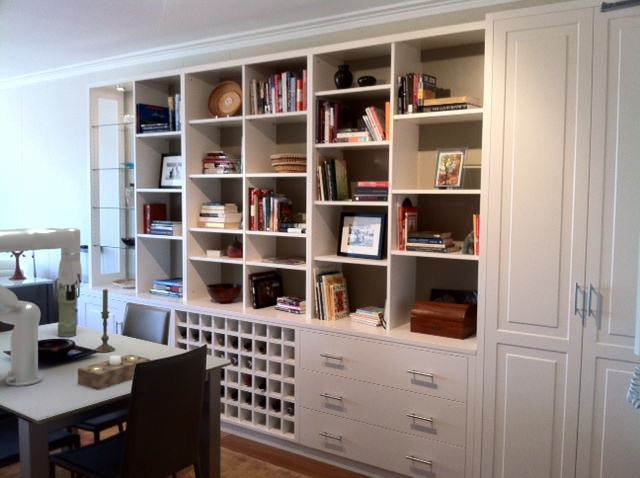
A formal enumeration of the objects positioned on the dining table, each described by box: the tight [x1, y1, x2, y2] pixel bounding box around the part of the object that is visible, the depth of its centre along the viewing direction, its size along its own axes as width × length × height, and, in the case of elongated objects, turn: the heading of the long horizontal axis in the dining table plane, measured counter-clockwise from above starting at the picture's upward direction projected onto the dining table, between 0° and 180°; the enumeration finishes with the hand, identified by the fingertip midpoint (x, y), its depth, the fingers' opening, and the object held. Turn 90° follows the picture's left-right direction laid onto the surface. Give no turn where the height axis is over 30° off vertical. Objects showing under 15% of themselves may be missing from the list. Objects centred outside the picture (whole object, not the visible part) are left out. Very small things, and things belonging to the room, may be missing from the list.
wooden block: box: [77, 353, 151, 391], centre depth 233 cm, size 26×12×6 cm, turn 150°
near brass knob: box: [91, 366, 103, 372], centre depth 225 cm, size 4×4×6 cm
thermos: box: [54, 277, 81, 339], centre depth 297 cm, size 9×12×35 cm
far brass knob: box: [127, 355, 138, 361], centre depth 240 cm, size 4×4×6 cm
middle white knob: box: [108, 354, 122, 366], centre depth 233 cm, size 4×4×6 cm
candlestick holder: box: [94, 288, 116, 354], centre depth 272 cm, size 9×9×30 cm
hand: (70, 300), depth 244 cm, fingers closed
